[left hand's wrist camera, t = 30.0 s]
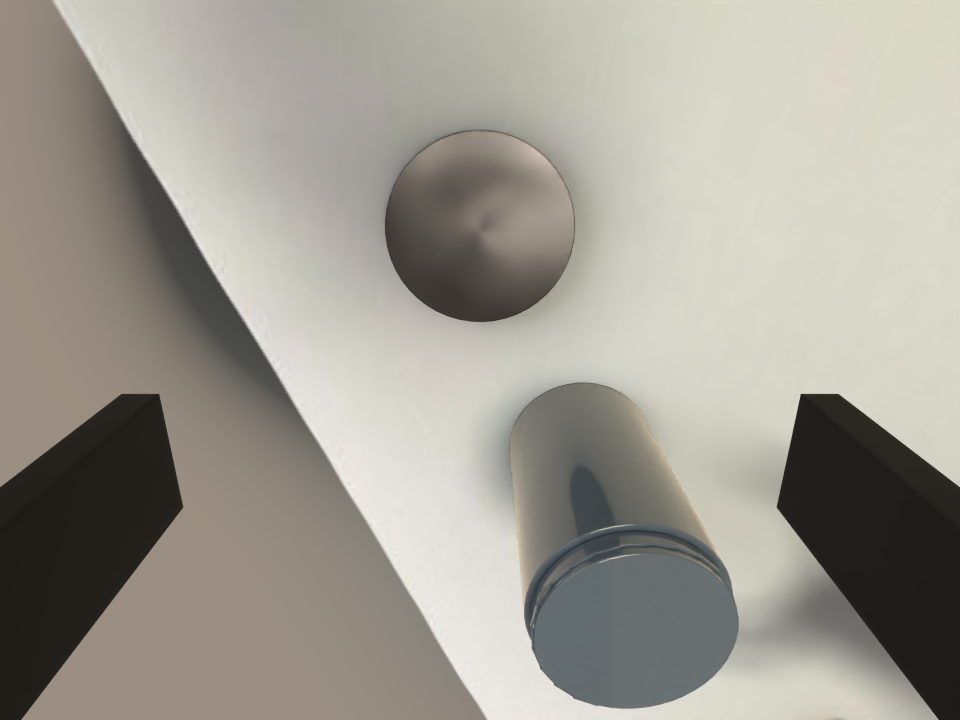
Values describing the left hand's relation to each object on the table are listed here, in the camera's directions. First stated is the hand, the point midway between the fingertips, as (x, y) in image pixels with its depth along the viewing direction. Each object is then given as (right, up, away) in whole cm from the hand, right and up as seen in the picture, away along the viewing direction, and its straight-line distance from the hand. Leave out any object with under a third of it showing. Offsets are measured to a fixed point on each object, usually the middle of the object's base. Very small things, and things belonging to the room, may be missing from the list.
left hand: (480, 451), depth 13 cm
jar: (+7, -5, +33) cm, 34 cm away
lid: (0, +10, +25) cm, 27 cm away
